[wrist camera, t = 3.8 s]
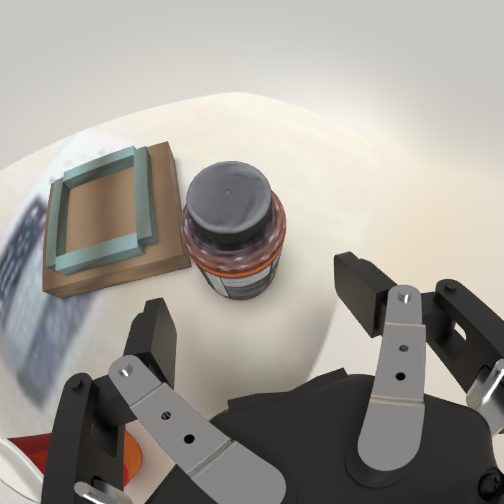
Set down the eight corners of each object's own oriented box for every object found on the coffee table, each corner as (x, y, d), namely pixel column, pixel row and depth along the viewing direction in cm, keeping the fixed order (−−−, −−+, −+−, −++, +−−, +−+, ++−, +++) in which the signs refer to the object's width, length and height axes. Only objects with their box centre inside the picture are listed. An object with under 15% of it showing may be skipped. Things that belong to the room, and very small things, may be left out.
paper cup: (75, 457, 16) (-26, 492, 3) (89, 396, 19) (-34, 407, 6) (145, 498, 15) (69, 576, 2) (165, 438, 18) (69, 511, 5)
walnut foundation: (60, 298, 22) (32, 286, 18) (64, 197, 26) (44, 176, 22) (191, 266, 23) (177, 246, 19) (174, 160, 27) (163, 130, 23)
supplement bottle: (205, 234, 24) (173, 148, 13) (273, 232, 24) (286, 142, 13) (204, 302, 22) (159, 254, 11) (278, 300, 22) (300, 249, 11)
